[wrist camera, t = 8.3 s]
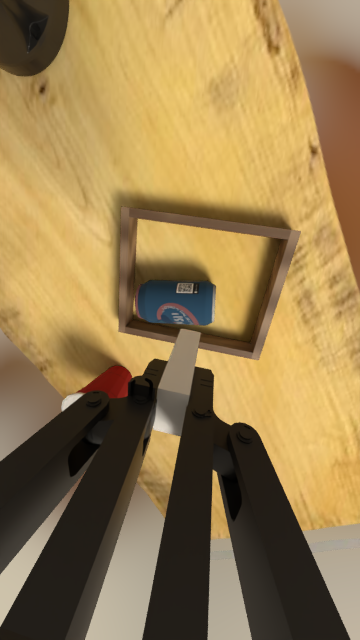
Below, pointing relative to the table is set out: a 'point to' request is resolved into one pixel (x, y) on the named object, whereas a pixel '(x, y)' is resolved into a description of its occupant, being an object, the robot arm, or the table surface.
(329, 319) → the table surface
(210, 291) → the soda can
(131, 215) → the walnut tray frame
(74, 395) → the plastic cup
